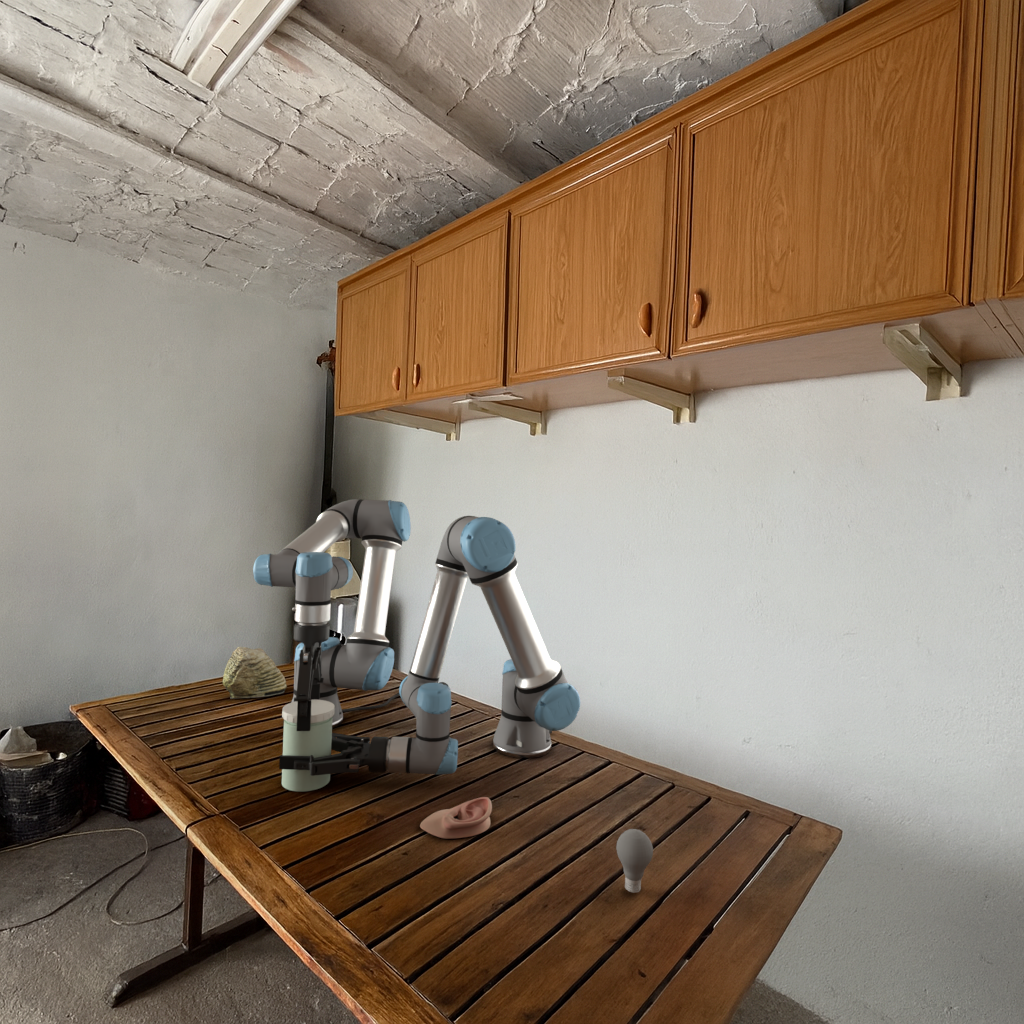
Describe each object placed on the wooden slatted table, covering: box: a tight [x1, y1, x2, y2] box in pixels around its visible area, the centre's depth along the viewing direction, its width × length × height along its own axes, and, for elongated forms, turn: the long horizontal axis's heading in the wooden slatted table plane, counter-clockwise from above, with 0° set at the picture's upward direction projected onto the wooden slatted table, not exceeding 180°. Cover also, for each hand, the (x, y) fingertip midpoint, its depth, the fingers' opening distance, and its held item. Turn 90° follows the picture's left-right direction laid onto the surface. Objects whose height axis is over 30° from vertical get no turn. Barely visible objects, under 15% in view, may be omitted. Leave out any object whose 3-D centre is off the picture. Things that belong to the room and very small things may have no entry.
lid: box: [281, 699, 335, 723], centre depth 140 cm, size 11×11×2 cm
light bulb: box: [615, 828, 654, 894], centre depth 106 cm, size 6×6×10 cm
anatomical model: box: [419, 796, 493, 840], centre depth 124 cm, size 13×4×12 cm
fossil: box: [222, 646, 288, 699], centre depth 198 cm, size 9×18×15 cm, turn 132°
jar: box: [281, 717, 333, 792], centre depth 141 cm, size 10×10×15 cm
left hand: (308, 720), depth 141 cm, fingers closed on lid, 11 cm apart
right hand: (288, 751), depth 141 cm, fingers closed on jar, 10 cm apart
